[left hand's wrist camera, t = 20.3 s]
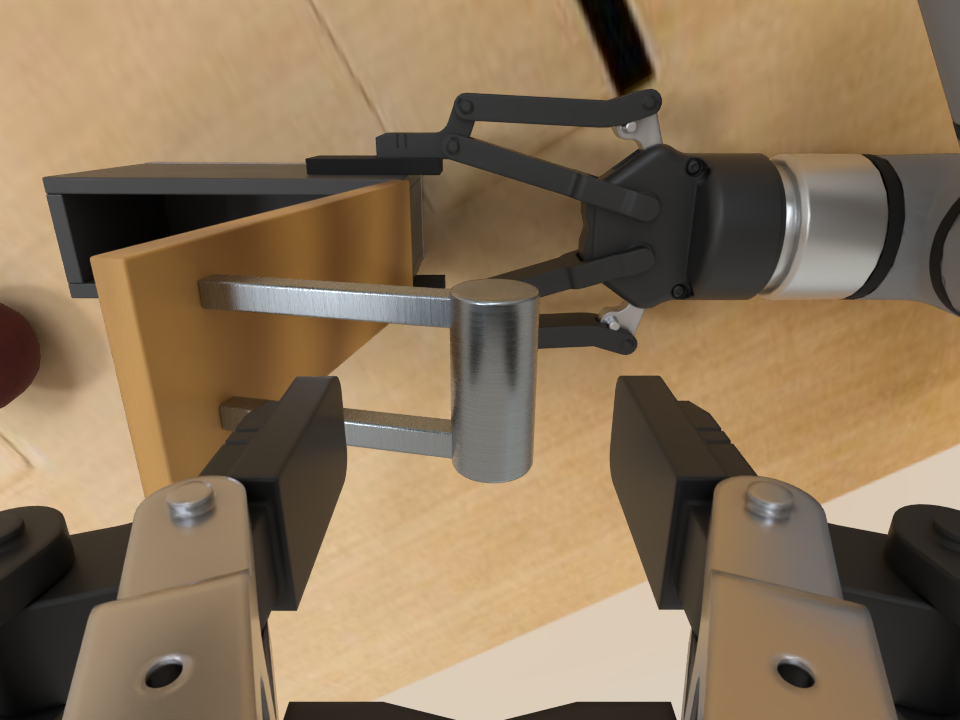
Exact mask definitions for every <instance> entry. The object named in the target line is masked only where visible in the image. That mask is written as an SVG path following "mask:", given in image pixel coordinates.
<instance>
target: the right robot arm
mask: <svg viewBox="0 0 960 720" xmlns="http://www.w3.org/2000/svg"><path fill="white" fill-rule="evenodd" d="M918 4H919V7H920V10H921V14H922V17H923V21H924V24H925V28H926V31H927V34H928V38H929V41H930V45H931V48H932V52H933V55H934V58H935V62H936V65H937V69H938V72H939V75H940V79H941V82H942V86H943V89H944V93H945V96H946V99H947V103H948V106H949V110H950V113H951V117H952V120H953V125H954V129H955V132H956V136H957V139H958V143H959V146H960V0H918ZM661 105H662V98H661V95H660V93H658V92H657V91H656V90H654V89H646V90H641V91H635V92H632V93H629V94H626V95H623V96H619V97H616V98H613V99H610V100H607V101H606V100H587V99H569V98H551V97H532V96H514V95H496V94H477V93H463V94H461V95H459V96H458V97H457V98H456V100H455V102H454V106H453V109H452V112H451V115H450V118H449V121H448V124H447V126H446V127H445V128H444V129H443V130H442V131H440V132H436V133H385V134H383V135H380V136H378V137H376V151H377V156H315V157H311V158H307V159H306V169H307V174H356V175H440V174H441V172H442V171H443V159H450V160H453V161H457V162H460V163H463V164H466V165H469V166H473V167H476V168H479V169H482V170H486V171H489V172H492V173H495V174H498V175H502V176H505V177H508V178H511V179H514V180H518V181H521V182H524V183H527V184H531V185H534V186H537V187H540V188H543V189H547V190H550V191H553V192H556V193H559V194H563V195H566V196H569V197H571V198H574V199H577V200H580V201H581V214H582V219H583V224H584V226H583V229H582V233H581V236H580V239H579V250H576V251H572V252H569V253H566V254H564V255H562V256H561V257H559V258H556V259H552V260H549V261H546V262H542V263H539V264H535V265H532V266H528V267H525V268H522V269H518V270H515V271H511V272H508V273H504V274H501V275H498V276H494V277H491V278H487V279H507V280H515V281H521V282H524V283H528V284H530V285H533V286H535V287H536V288H537V289H538V290H539V293H540V297H543V296H547V295H550V294H554V293H557V292H561V291H564V290H568V289H581V288H585V287H588V286H592V285H595V284H599V283H603V284H604V285H605V286H607V287H608V288H609V289H611V290H612V291H613V292H615V293H616V294H617V295H619V296H620V297H621V298H623V299H624V302H623V303H622V304H621V305H619V306H617V307H606V308H604V309H602V310H601V311H600V313H599V315H598V314H594V313H558V314H539V328H538V349H542V348H564V347H585V346H595V347H599V348H602V349H605V350H609V351H612V352H615V353H619V354H622V355H628V354H631V353H632V352H634V351H635V349H636V348H637V340H636V338H635V337H634V334H635V331H636V329H637V327H638V324H639V322H640V320H641V317H642V315H643V313H644V310H645V309H648V308H652V307H654V306H656V305H658V304H660V303H662V302H665V301H669V300H748V299H751V298H752V297H754V296H755V295H757V296H758V297H760V298H761V299H763V300H822V299H847V300H854V299H873V300H911V301H918V302H923V303H927V304H930V305H932V306H934V307H937V308H939V309H942V310H944V311H946V312H949V313H951V314H953V315H956V316H958V317H960V154H909V155H870V154H787V153H784V154H776V155H775V156H773V157H771V158H770V159H768V158H767V157H766V156H765V155H763V154H690V153H682V152H679V151H677V150H676V149H674V148H673V147H671V146H669V145H666V144H663V143H662V138H661V132H660V127H659V122H658V116H657V112H658V111H659V110H660V107H661ZM475 121H488V122H506V123H525V124H544V125H562V126H581V127H612V129H613V132H614V134H615V135H616V136H617V137H618V138H621V139H632V140H634V141H635V142H636V143H637V145H638V148H639V149H638V150H636V151H635V152H634V153H632V154H631V155H629V156H628V157H627V158H625V159H624V160H622V161H621V162H620V163H618V164H617V165H616V166H614V167H613V168H611V169H610V170H609V171H607V172H606V173H604V174H603V175H602V176H600V177H596V176H593V175H590V174H587V173H584V172H581V171H577V170H574V169H570V168H567V167H564V166H561V165H558V164H554V163H551V162H548V161H545V160H542V159H539V158H535V157H532V156H529V155H526V154H523V153H520V152H516V151H513V150H510V149H507V148H504V147H501V146H497V145H494V144H491V143H488V142H485V141H482V140H478V139H475V138H472V137H470V135H471V132H472V129H473V126H474V123H475ZM413 287H425V288H440V289H445V275H416V277H415V280H414V282H413Z"/></svg>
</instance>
